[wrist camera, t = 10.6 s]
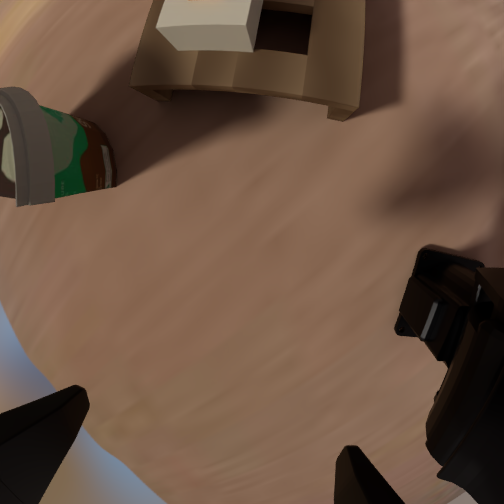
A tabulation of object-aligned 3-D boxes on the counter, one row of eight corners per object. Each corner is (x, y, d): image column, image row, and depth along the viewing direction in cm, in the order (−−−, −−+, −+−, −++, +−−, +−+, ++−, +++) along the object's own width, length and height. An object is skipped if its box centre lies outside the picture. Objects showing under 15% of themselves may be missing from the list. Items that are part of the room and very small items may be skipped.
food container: (147, 101, 17) (46, 59, 7) (133, 189, 18) (23, 208, 9) (33, 110, 17) (-54, 102, 8) (24, 178, 19) (-64, 192, 9)
